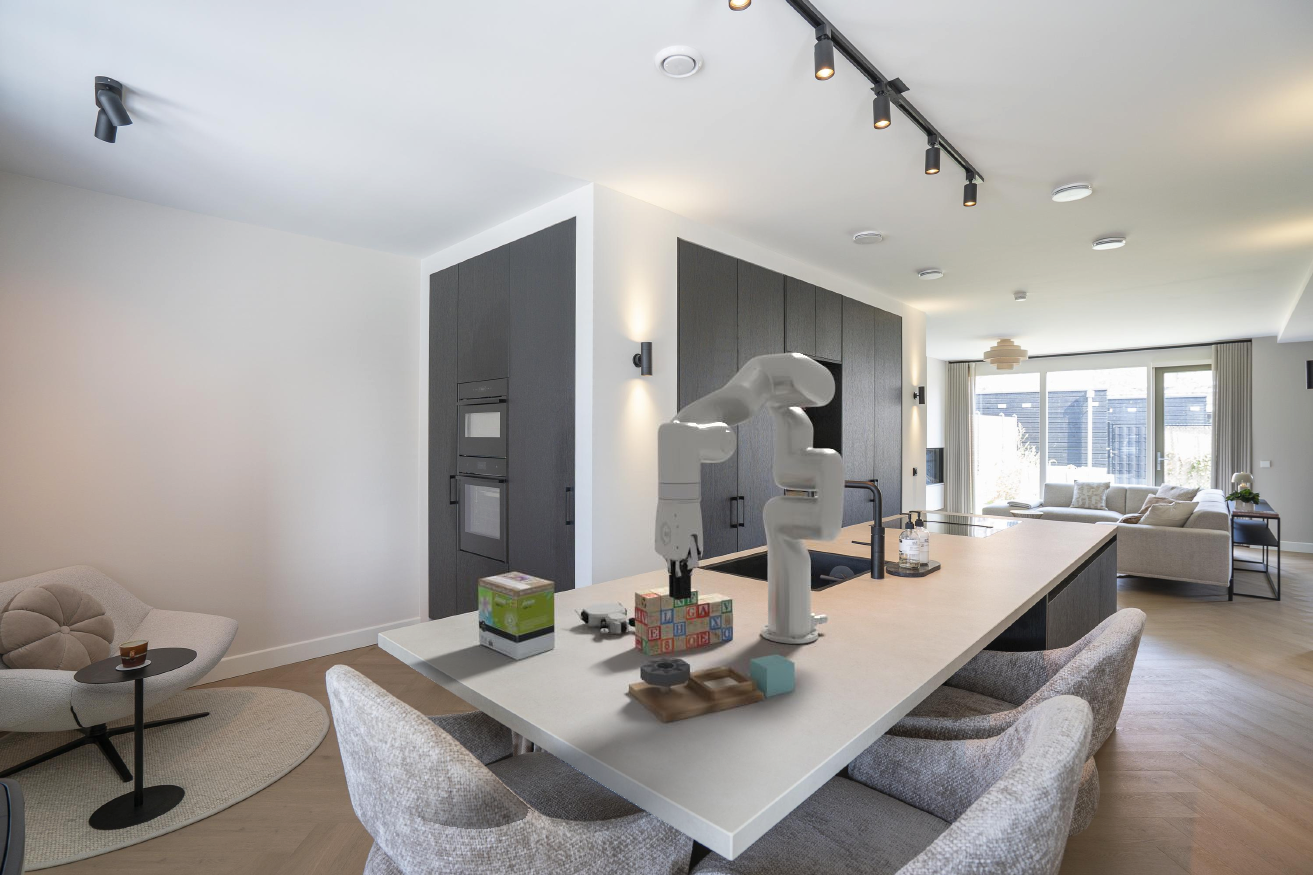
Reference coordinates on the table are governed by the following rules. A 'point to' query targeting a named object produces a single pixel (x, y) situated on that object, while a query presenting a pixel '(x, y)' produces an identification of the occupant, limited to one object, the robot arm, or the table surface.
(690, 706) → the chassis
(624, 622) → the robot toy
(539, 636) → the tea box
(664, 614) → the stack of blocks
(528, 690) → the table surface
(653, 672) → the wheel
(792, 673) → the teal nearly cubic block
